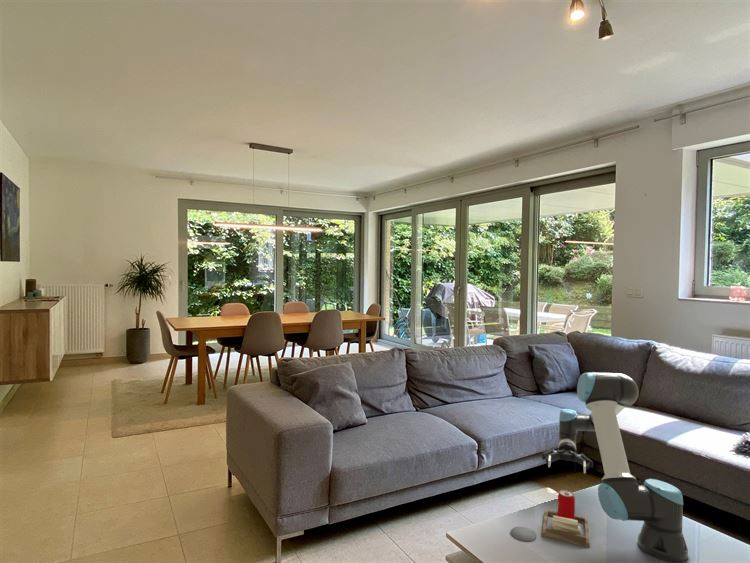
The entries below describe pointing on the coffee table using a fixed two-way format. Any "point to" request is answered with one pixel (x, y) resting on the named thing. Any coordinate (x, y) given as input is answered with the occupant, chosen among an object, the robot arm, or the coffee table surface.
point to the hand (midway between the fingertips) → (566, 467)
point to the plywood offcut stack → (566, 525)
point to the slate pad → (523, 534)
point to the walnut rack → (566, 535)
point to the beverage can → (566, 504)
